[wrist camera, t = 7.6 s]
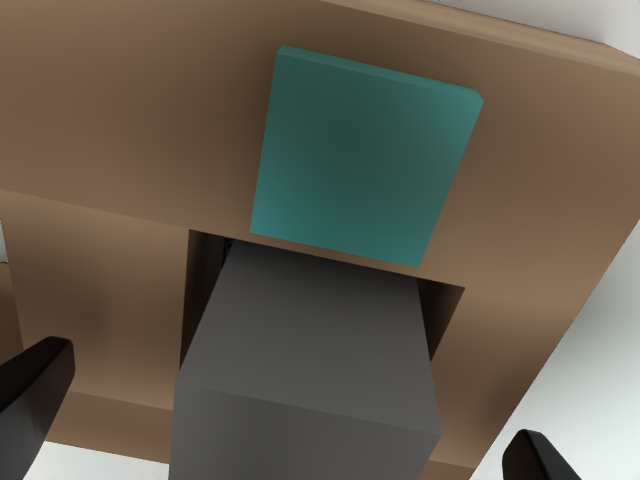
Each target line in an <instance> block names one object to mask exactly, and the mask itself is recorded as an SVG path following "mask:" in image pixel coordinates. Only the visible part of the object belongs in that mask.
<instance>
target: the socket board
mask: <svg viewBox="0 0 640 480" xmlns="http://www.w3.org/2000/svg"><path fill="white" fill-rule="evenodd" d="M0 218H1V224H2V229H3V235H4V241H5V246H6V252H7V258H8V263H9V264H6V263H1V262H0V364H1V363H3V362H5V361H7V360H8V359H10V358H12V357H13V356H15V355H17V354H18V353H20V352H22V351H24V350H25V349H27V348H29V347H30V346H32V345H34V344H35V343H37V342H39V341H40V340H42V339H44V338H46V337H48V336H57V337H62V338H67V339H70V340H71V341H72V342H73V346H74V357H75V375H74V378H73V381H72V383H71V385H70V387H69V389H68V391H67V393H66V396H65V398H64V400H63V402H62V404H61V406H60V408H59V411H58V413H57V415H56V417H55V419H54V421H53V423H52V425H51V428H50V430H49V432H48V434H47V436H46V438H45V440H44V441H48V442H54V443H59V444H64V445H70V446H75V447H80V448H86V449H91V450H96V451H102V452H107V453H112V454H118V455H123V456H129V457H134V458H139V459H145V460H150V461H155V462H161V463H166V464H169V463H170V448H171V433H172V418H173V404H174V389H175V381H176V379H177V376H178V374H179V371H180V369H181V367H182V364H183V362H184V359H185V357H186V355H187V352H188V350H189V347H190V345H191V343H192V340H193V338H194V335H195V333H196V330H197V328H198V326H199V323H200V321H201V318H202V316H203V314H204V311H205V309H206V306H207V304H208V302H209V299H210V297H211V294H212V292H213V290H214V287H215V285H216V282H217V280H218V278H219V275H220V273H221V268H222V259H223V251H224V242H225V237H229V238H234V239H239V240H244V241H248V242H253V243H258V244H263V245H267V246H272V247H277V248H282V249H286V250H291V251H296V252H301V253H305V254H310V255H315V256H320V257H324V258H329V259H334V260H338V261H343V262H348V263H353V264H357V265H362V266H367V267H372V268H376V269H381V270H386V271H391V272H395V273H400V274H405V275H410V276H414V277H416V279H417V285H418V291H419V298H420V304H421V310H422V316H423V322H424V328H425V334H426V340H427V347H428V353H429V359H430V365H431V371H432V377H433V383H434V390H435V396H436V402H437V408H438V414H439V420H440V426H441V433H442V436H441V438H440V439H439V441H438V443H437V445H436V447H435V448H434V450H433V452H432V454H431V456H430V457H429V459H428V461H427V463H426V464H425V466H424V468H423V470H422V472H421V473H420V475H419V477H418V479H417V480H469V479H470V477H471V476H472V474H473V473H474V471H475V470H476V468H477V467H478V465H479V464H480V462H481V461H482V459H483V458H484V456H485V454H486V453H487V451H488V450H489V448H490V447H491V445H492V444H493V442H494V441H495V439H496V438H497V436H498V435H499V433H500V432H501V430H502V428H503V427H504V425H505V424H506V422H507V421H508V419H509V418H510V416H511V415H512V413H513V412H514V410H515V409H516V407H517V406H518V404H519V403H520V401H521V399H522V398H523V396H524V395H525V393H526V392H527V390H528V389H529V387H530V386H531V384H532V383H533V381H534V380H535V378H536V377H537V375H538V373H539V372H540V370H541V369H542V367H543V366H544V364H545V363H546V361H547V360H548V358H549V357H550V355H551V354H552V352H553V351H554V349H555V348H556V346H557V344H558V343H559V341H560V340H561V338H562V337H563V335H564V334H565V332H566V331H567V329H568V328H569V326H570V325H571V323H572V322H573V320H574V318H575V317H576V315H577V314H578V312H579V311H580V309H581V308H582V306H583V305H584V303H585V302H586V300H587V299H588V297H589V296H590V294H591V292H592V291H593V289H594V288H595V286H596V285H597V283H598V282H599V280H600V279H601V277H602V276H603V274H604V273H605V271H606V270H607V268H608V267H609V265H610V263H611V262H612V260H613V259H614V257H615V256H616V254H617V253H618V251H619V250H620V248H621V247H622V245H623V244H624V242H625V241H626V239H627V237H628V236H629V234H630V233H631V231H632V230H633V228H634V227H635V225H636V224H637V222H638V221H639V219H640V59H637V58H635V57H633V56H631V55H628V54H626V53H624V52H622V51H619V50H617V49H615V48H613V47H610V46H608V45H606V44H602V43H598V42H594V41H590V40H586V39H582V38H577V37H573V36H569V35H565V34H561V33H557V32H552V31H548V30H544V29H540V28H536V27H532V26H527V25H523V24H519V23H515V22H511V21H507V20H502V19H498V18H494V17H490V16H486V15H482V14H477V13H473V12H469V11H465V10H461V9H457V8H452V7H448V6H444V5H440V4H436V3H432V2H427V1H423V0H0Z"/></svg>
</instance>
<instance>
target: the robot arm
mask: <svg viewBox="0 0 640 480" xmlns="http://www.w3.org/2000/svg"><path fill="white" fill-rule="evenodd" d="M74 375H75V357H74V346H73V342H72V341H71V340H70V339H67V338H62V337H57V336H48V337H46V338H44V339H42V340H40V341H39V342H37V343H35V344H34V345H32V346H30V347H29V348H27V349H25V350H24V351H22V352H20V353H18V354H17V355H15V356H13V357H12V358H10V359H8V360H7V361H5V362H3V363H1V364H0V480H23V478H24V477H25V475H26V473H27V472H28V470H29V468H30V467H31V465H32V463H33V461H34V460H35V458H36V456H37V454H38V452H39V450H40V448H41V446H42V444H43V442H44V440H45V438H46V436H47V434H48V432H49V430H50V428H51V425H52V423H53V421H54V419H55V417H56V415H57V413H58V411H59V408H60V406H61V404H62V402H63V400H64V398H65V396H66V393H67V391H68V389H69V387H70V385H71V383H72V381H73V378H74ZM502 469H503V480H582V479H581V478H580V477H579V476H578V475H577V473H576V472H575V471H574V470H573V469H572V467H571V466H570V465H569V464H568V463H567V462H566V460H565V459H564V458H563V457H562V456H561V454H560V453H559V452H558V451H557V450H556V448H555V447H554V446H553V445H552V444H551V443H550V441H549V440H548V439H547V438H546V437H545V436H544V435H543V434H542V433H540V432H537V431H532V430H527V429H521V430H519V431H518V432H517V434H516V435H515V436H514V438H513V439H512V441H511V442H510V444H509V445H508V447H507V448H506V450H505V451H504V454H503V458H502Z"/></svg>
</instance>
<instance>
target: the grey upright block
mask: <svg viewBox="0 0 640 480" xmlns="http://www.w3.org/2000/svg"><path fill="white" fill-rule="evenodd" d="M441 436H442V433H441V426H440V420H439V414H438V408H437V402H436V396H435V390H434V383H433V377H432V371H431V365H430V359H429V353H428V347H427V340H426V334H425V328H424V322H423V316H422V310H421V304H420V298H419V291H418V285H417V279H416V277H414V276H410V275H405V274H400V273H395V272H391V271H386V270H381V269H376V268H372V267H367V266H362V265H357V264H353V263H348V262H343V261H338V260H334V259H329V258H324V257H320V256H315V255H310V254H305V253H301V252H296V251H291V250H286V249H282V248H277V247H272V246H267V245H263V244H258V243H253V242H248V241H244V240H239V239H234V241H233V244H232V246H231V249H230V251H229V253H228V256H227V258H226V261H225V263H224V265H223V268H222V270H221V273H220V275H219V278H218V280H217V282H216V285H215V287H214V290H213V292H212V294H211V297H210V299H209V302H208V304H207V306H206V309H205V311H204V314H203V316H202V318H201V321H200V323H199V326H198V328H197V330H196V333H195V335H194V338H193V340H192V343H191V345H190V347H189V350H188V352H187V355H186V357H185V359H184V362H183V364H182V367H181V369H180V371H179V374H178V376H177V379H176V381H175V389H174V404H173V418H172V433H171V448H170V463H169V477H168V480H417V479H418V477H419V475H420V473H421V472H422V470H423V468H424V466H425V464H426V463H427V461H428V459H429V457H430V456H431V454H432V452H433V450H434V448H435V447H436V445H437V443H438V441H439V439H440V438H441Z"/></svg>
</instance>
